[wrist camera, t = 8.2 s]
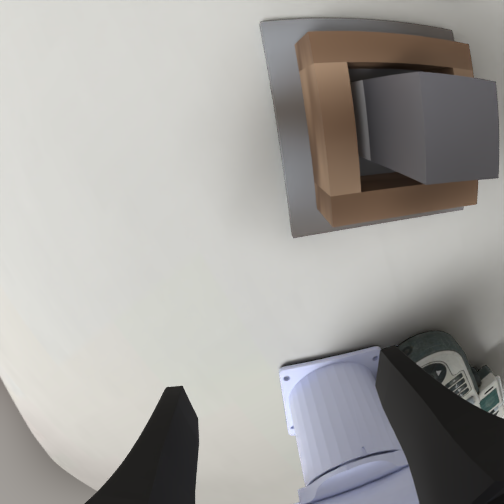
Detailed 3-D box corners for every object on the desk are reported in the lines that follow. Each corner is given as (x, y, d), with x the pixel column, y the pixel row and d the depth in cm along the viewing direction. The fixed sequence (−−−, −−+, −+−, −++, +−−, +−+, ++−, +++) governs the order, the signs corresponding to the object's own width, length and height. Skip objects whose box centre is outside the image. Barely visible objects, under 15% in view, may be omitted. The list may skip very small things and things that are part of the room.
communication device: (459, 285, 22) (524, 350, 14) (493, 394, 30) (523, 438, 22) (344, 374, 25) (377, 460, 16) (422, 446, 33) (444, 495, 25)
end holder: (459, 207, 18) (490, 225, 15) (291, 234, 19) (304, 261, 15) (447, 31, 13) (481, 24, 10) (259, 24, 14) (266, 3, 10)
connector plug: (416, 150, 16) (498, 178, 10) (355, 154, 16) (425, 184, 10) (411, 83, 15) (495, 81, 8) (347, 82, 15) (418, 71, 8)
